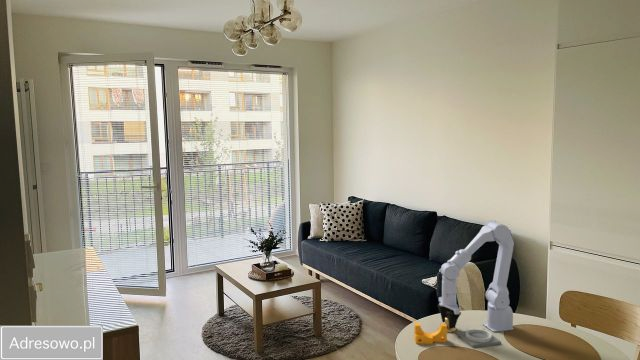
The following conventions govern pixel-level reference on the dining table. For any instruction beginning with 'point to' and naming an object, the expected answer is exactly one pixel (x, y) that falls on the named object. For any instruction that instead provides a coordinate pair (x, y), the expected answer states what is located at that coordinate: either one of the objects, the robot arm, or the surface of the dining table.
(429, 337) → the pipe clamp
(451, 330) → the brass cabinet knob
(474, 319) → the dining table surface
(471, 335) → the carrier plate
